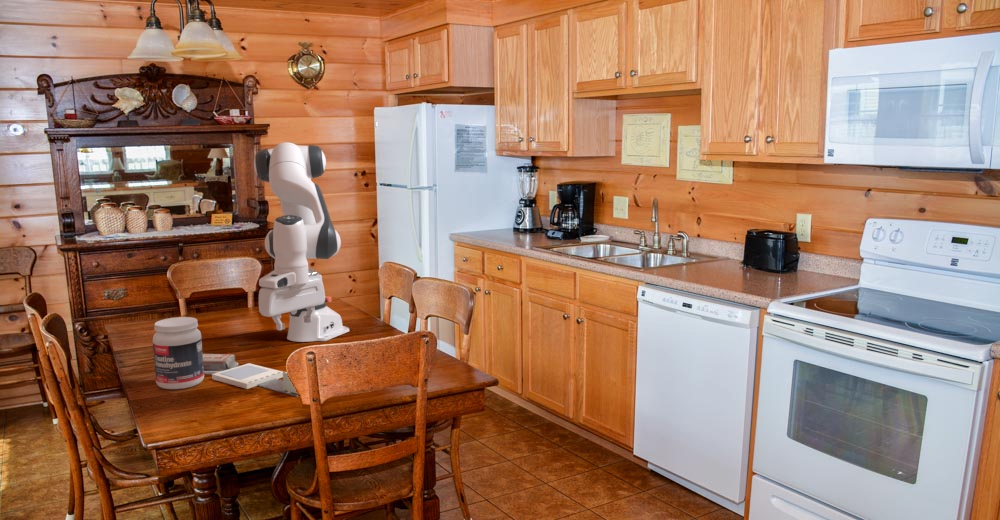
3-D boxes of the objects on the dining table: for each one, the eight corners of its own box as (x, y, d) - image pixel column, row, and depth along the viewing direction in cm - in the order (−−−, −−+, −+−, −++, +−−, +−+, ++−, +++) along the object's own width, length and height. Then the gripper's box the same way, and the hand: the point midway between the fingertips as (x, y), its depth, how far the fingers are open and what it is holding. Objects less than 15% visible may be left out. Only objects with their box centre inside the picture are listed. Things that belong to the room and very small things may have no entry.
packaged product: (238, 351, 236) (224, 360, 226) (239, 366, 237) (225, 376, 227) (182, 350, 237) (166, 359, 227) (183, 365, 238) (167, 375, 228)
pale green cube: (297, 384, 215) (296, 367, 214) (312, 388, 211) (311, 371, 210) (283, 389, 211) (282, 372, 210) (298, 393, 207) (297, 375, 206)
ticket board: (249, 367, 233) (249, 362, 233) (323, 387, 214) (323, 381, 214) (212, 379, 223) (211, 373, 222) (287, 400, 204) (286, 394, 204)
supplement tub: (153, 393, 211) (147, 328, 208) (159, 379, 223) (154, 318, 220) (202, 388, 214) (197, 324, 211) (206, 375, 227) (202, 314, 224)
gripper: (313, 269, 216) (315, 316, 218) (253, 281, 199) (256, 332, 202) (329, 271, 212) (331, 319, 215) (269, 283, 196) (272, 335, 198)
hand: (294, 325), depth 208 cm, fingers open, 8 cm apart
